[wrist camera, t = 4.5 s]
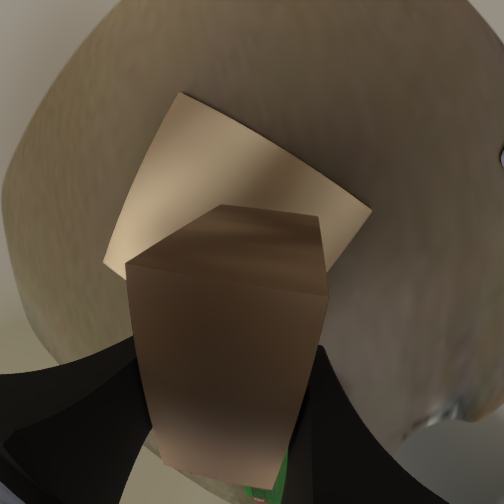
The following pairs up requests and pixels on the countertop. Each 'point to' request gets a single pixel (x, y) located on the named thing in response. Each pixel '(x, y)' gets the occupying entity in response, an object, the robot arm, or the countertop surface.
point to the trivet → (223, 184)
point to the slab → (229, 338)
